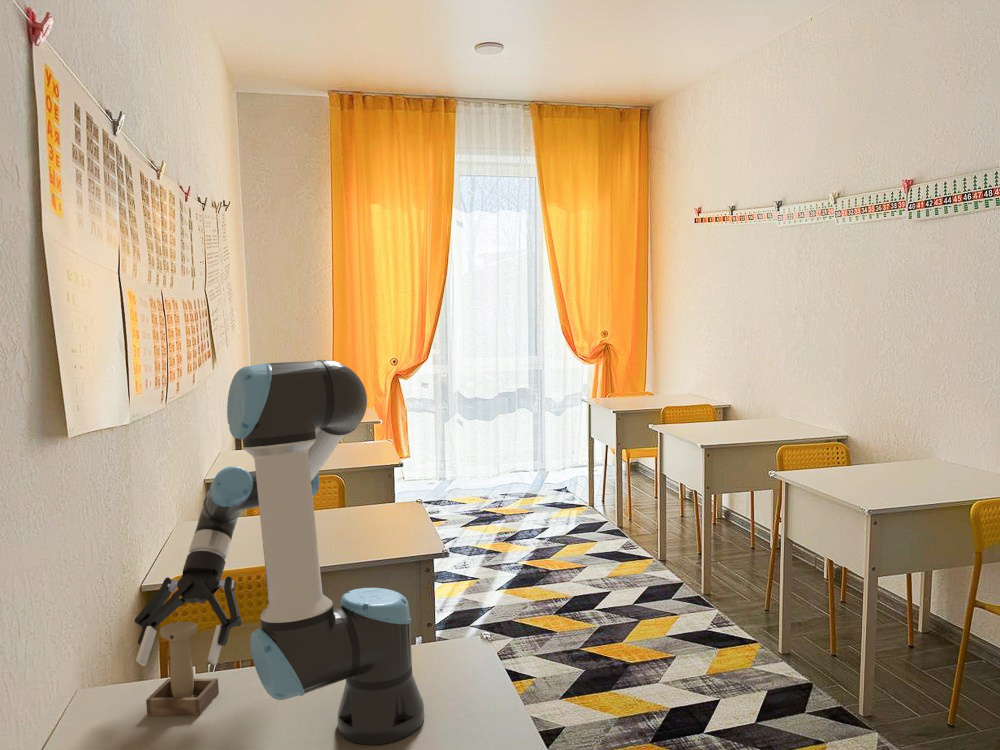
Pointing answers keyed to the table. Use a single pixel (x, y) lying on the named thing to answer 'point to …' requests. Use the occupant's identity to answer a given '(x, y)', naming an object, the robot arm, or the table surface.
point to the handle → (180, 657)
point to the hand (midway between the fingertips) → (176, 663)
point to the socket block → (182, 699)
